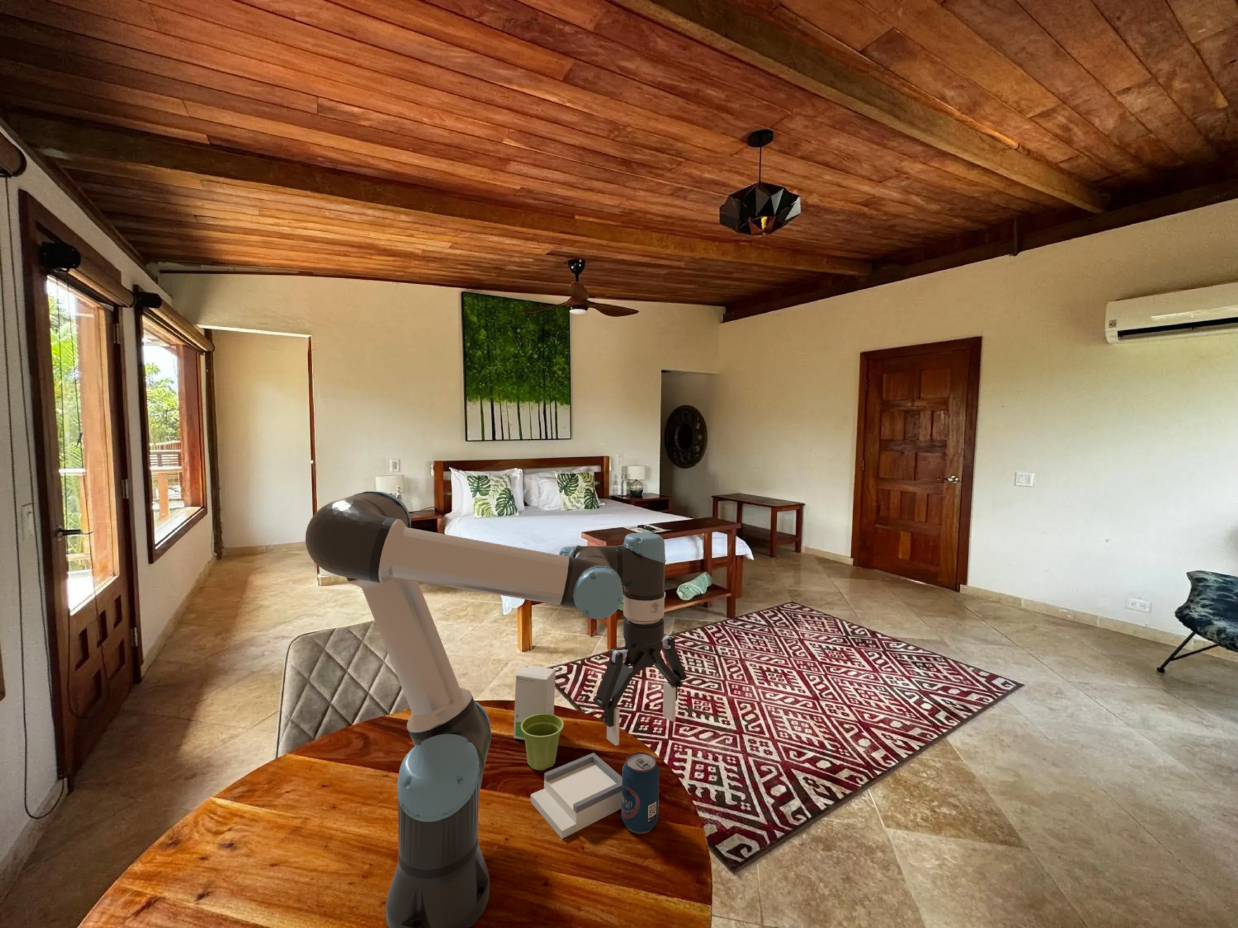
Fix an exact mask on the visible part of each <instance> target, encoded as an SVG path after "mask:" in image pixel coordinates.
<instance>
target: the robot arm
mask: <svg viewBox="0 0 1238 928" xmlns="http://www.w3.org/2000/svg"><path fill="white" fill-rule="evenodd" d="M304 541H305V548H306V550H307V552H308V553H307V554H308V555H309V556H310V558H311V560H312V561H313V562H314V563H315V565H317V566H318V567H319V568H320V569H322V570H324V571H325V572H328V573H331V574H334V575H336V576H339V577H343V578H346V580H347V582H348V584H352V585H355V586H358V587H359V588H360V589H361V590H362V592H363V594H364V598H365V600H366V602H367V604H368V607H369V610H370V612H371V614H372V617H373V620H374V622H375V624H376V627H377V629H378V632H379V635H380V637H381V639H382V642H383V645H384V647H385V649H386V651H387V654H388V657H389V659H390V662H391V664H392V667H393V669H394V672H395V673H396V676H397V679H398V682H399V683H400V686H401V689H402V692H403V694H404V696H405V699H406V701H407V705H408V706H409V709H410V711H411V714H410V716H409V718H408V721H407V723H406V728H407V731H408V733H409V736H410V739H411V741H412V743H413V745H414V746H413V747H412V748H411V749H410V750H409V751H408V753H406V755H405V756H404V758H403V759H402V762H401V765H400V767H399V771H398V772H399V773H398V777H397V778H398V779H397V783H396V788H397V792H396V796H397V805H398V806H397V811H398V812H397V815H398V816H397V817H398V822H397V823H398V826H397V827H398V828H397V829H398V836H397V837H398V840H397V841H398V862H397V865H396V868H395V871H394V874H393V877H392V880H391V883H390V886H389V889H388V892H387V896H386V902H385V922H386V926H388V927H387V928H470V927H471V928H472V927H473V926H474V925H475V924H476V923H477V922H478V920H479V919H480V918H481V916H482V915H483V913H484V912H485V910H486V908H487V905H488V903H489V898H490V873H489V869H488V867H487V864H486V861H485V858H484V855H483V853H482V850H481V847H480V846H479V799H480V792H481V787H482V781H483V777H484V776H483V775H484V772H485V766H486V761H487V758H488V752H489V749H490V745H491V740H492V735H491V734H492V729H491V720H490V719H489V716H488V713H487V711H486V710H485V708H484V707H483V706H482V705H481V704H480V703H479V702H477V701H476V702H475V699H474V696H473V694H472V692H471V690H469V689H466V688H463V687H460V686H459V683H458V680H457V678H456V675H455V672H454V670H453V667H452V664H451V662H450V660H449V657H448V655H447V653H446V650H445V647H444V644H443V641H442V639H441V636H440V634H439V632H438V629H437V626H436V623H435V621H434V619H433V617H432V614H431V611H430V609H429V607H428V604H427V601H426V598H425V595H424V593H423V590H422V588H421V586H420V583H423V584H429V585H434V586H435V585H436V586H442V587H447V588H453V589H454V588H455V589H461V590H466V591H473V592H478V593H485V594H490V595H491V594H492V595H497V596H503V597H508V598H509V597H510V598H515V599H520V600H528V601H532V602H540V603H544V604H545V603H546V604H552V605H557V606H558V605H559V606H563V607H569V608H573V609H575V608H576V609H578V611H579V612H580V613H581V614H582V615H584V616H585V617H587V618H590V619H594V620H603V619H606V618H608V617H611V616H613V614H615V613H616V612H617V611H618V609H619V608H620V606H621V604H622V602H623V607H622V608H623V612H622V613H623V614H622V615H623V616H624V618H623V626H622V627H623V630H622V632H623V633H622V635H623V639H624V647H623V649H620V650H617V649H615V648H611V649H610V652H609V656H608V657H609V658H608V663H607V666H606V668H605V670H604V674H603V677H602V680H601V682H600V685H599V687H598V690H597V693H596V694H595V695H596V696H595V698H594V701H593V702H594V704H595V705H596V706H598V707H599V708H601V710H602V711H603V723H604V725H605V726H606V740H608V741H609V742H610V743H611V744H612V745H614V746H619V745H620V708H619V707H618V704H619V702H620V700H621V699H622V696H624V693H625V691H626V690H627V688H628V687H629V685H630V682H631V681H632V679H633V678H634V677H635V676H636V675H638V673H639V672H640V671H644V670H645V669H647V668H652V667H655V668H656V669H657V670H658V672H659V673H660V674H661V676H662V677H663V678H664V679H665V680H666V682H664V683H663V688H662V689H663V691H662V692H663V693H662V695H663V696H662V697H663V698H662V699H663V700H662V716H663V717H664V718H666V719H667V720H669V721H671V722H675V721H676V703H677V702H676V701H678V697H679V696H678V691H679V688H682V686H683V682H682V681H686V679H687V674H686V671H685V669H684V666H683V664H682V662H681V659H680V656H679V653H678V651H677V649H676V640H675V637H673V636H671V635H668V634H666V633H665V620H664V619H663V618H664V616H665V577H666V575H665V573H666V562H667V559H666V548H665V546H666V544H665V539H664V538H663V536H661V535H660V534H658V533H657V534H656V533H654V532H653V533H652V532H651V533H650V532H635V533H634V532H632V533H629V534H626V535H625V537H624V542H623V544H619V545H580V544H579V545H573V546H565V547H561V549H560V550H559V554H557V553H550V552H545V551H538V550H534V549H528V548H527V549H526V548H522V547H517V546H512V545H511V546H510V545H505V544H500V543H496V542H495V543H494V542H489V541H484V540H479V539H473V538H467V537H463V536H456V535H450V534H445V533H439V532H436V531H435V532H433V531H428V530H422V529H417V528H412V519H411V514H410V512H409V510H408V508H407V506H406V504H404V502H403V501H402V500H401V499H399V498H398V497H396V496H394V495H393V494H391V493H388V492H385V491H384V492H383V491H378V490H377V491H372V490H369V491H368V490H367V491H364V492H363V491H362V492H357V493H355V494H353V495H350V496H347V497H344V498H340V499H336V500H334V501H331V502H328V503H327V504H325V505H324V506H322V507H321V508H320V509H318V510H317V511H316V512H315V513H314V515H313V516H312V517H311V518H310V521H309V522H308V524H307V527H306V531H305V540H304ZM662 650H663V652H664V655H665V658H666V659H667V663H668V664H669V666H668V665H667V663H666V660H665V659H664V658H663V657H662V655H661V652H662ZM629 666H631V668H630V667H629Z"/></svg>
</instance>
